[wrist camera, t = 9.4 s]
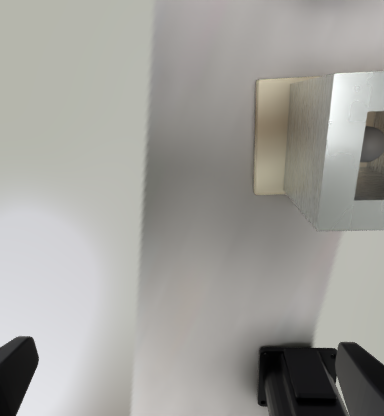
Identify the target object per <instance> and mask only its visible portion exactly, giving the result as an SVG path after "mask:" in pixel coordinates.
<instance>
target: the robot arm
mask: <svg viewBox="0 0 384 416" xmlns="http://www.w3.org/2000/svg"><path fill="white" fill-rule="evenodd" d="M265 353H266V354H265ZM38 361H39V357H38V353H37V349H36V346H35V342H34V339H33V338H32V337H30V336H19V337H16V338H14V339H13V340H11V341H10V342H8V343H7V344H5V345H4V346H2V347H0V416H16V414H17V412H18V410H19V408H20V405H21V403H22V401H23V398H24V396H25V394H26V391H27V389H28V387H29V384H30V382H31V379H32V377H33V375H34V373H35V370H36V368H37V365H38ZM336 377H338V380H339V383H340V387H341V390H342V393H343V396H344V400H345V403H346V406H347V409H348V412H349V414H348V412H347V410H346V408H345V405H344V403H343V401H342V399H341V396H340V394H339V392H338V389H337V387H336V385H335V383H336ZM257 401H258V404H259V405H260V406H267V407H268V411H269V416H384V365H383V364H382V363H381V362H380V361H378V360H377V359H376V358H375V357H373V356H372V355H371V354H369V353H368V352H367V351H366V350H365V349H363V348H362V347H361V346H359V345H358V344H357V343H354V342H340V343H339V345H338V350H336V349H335V348H281V347H264V348H261V349H260V350H259V361H258V387H257Z"/></svg>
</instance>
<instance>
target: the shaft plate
mask: <svg viewBox="0 0 384 416" xmlns="http://www.w3.org/2000/svg"><path fill="white" fill-rule="evenodd" d="M318 77H322V76H315V77H298V78H280V79H263V80H257V81H256V111H255V152H254V193H255V195H279V194H286V193H285V192H284V190H283V188H284V172H285V157H286V142H287V127H288V112H289V96H290V84H292V83H296V82H300V81H305V80H309V79H313V78H318ZM375 112H376V111H371V112H367V119H366V125H365V132H364V138H363V145H362V151H361V158H360V164H359V167H367V162H370V161H373V160H375V159H377V158H378V157H380V156H381V155H382V153H383V152H384V133H383V132H382V131H381V130H379V129H378V128H375V127H373V124H374V118H375Z"/></svg>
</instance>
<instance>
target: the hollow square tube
mask: <svg viewBox="0 0 384 416" xmlns="http://www.w3.org/2000/svg"><path fill="white" fill-rule="evenodd" d="M371 111H376V112H375V118H374V124H373V127H375V128H378V129H379V130H381V131H382V132H383V133H384V71H375V72H355V73H336V74H330V75H326V76H322V77H318V78H313V79H309V80H305V81H300V82H296V83H292V84H290V96H289V112H288V127H287V142H286V157H285V172H284V188H283V190H284V192H285V193H286V194H287V195H288V197H289V198H290V199H291V200H292V201H293V203H294V204H295V205H296V206H297V208H298V209H299V210H300V211H301V212H302V214H303V215H304V216H305V217H306V219H307V220H308V221H309V222H310V223H311V225H312V226H313V227H314V228H315V230H316V231H357V230H384V152H383V153H382V155H381V156H380V157H378V158H377V159H375V160H373V161H370V162H367V167H359V164H360V158H361V151H362V145H363V138H364V132H365V125H366V119H367V112H371Z"/></svg>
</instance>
